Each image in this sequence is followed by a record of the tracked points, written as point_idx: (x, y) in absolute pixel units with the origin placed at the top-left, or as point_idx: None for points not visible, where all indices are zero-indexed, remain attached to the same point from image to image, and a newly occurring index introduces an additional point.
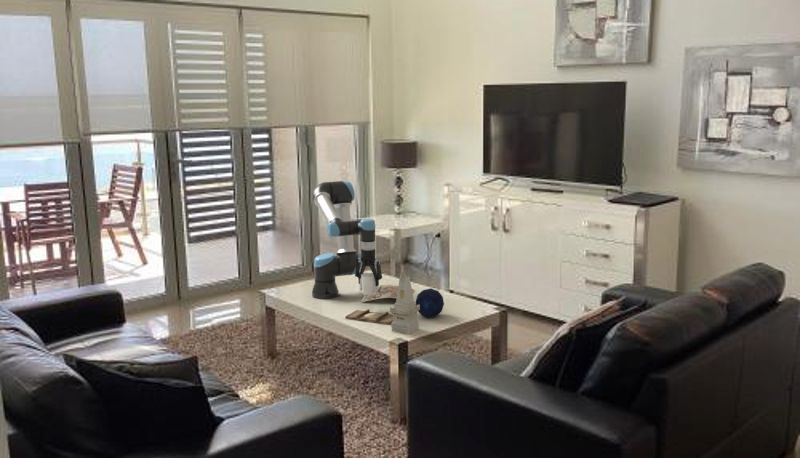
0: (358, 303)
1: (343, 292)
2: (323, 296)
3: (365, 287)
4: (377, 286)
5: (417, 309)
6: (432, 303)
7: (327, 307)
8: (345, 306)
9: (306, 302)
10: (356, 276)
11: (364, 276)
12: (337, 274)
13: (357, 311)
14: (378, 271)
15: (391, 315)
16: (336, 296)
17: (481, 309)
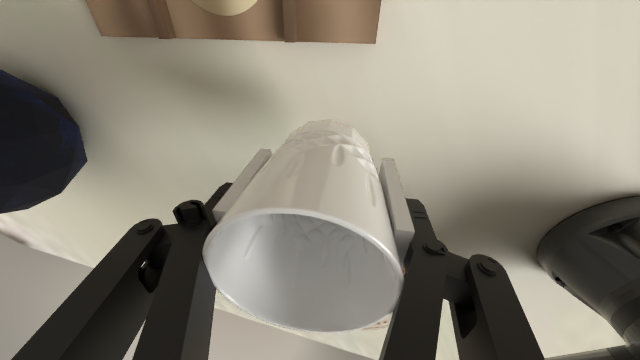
0: (417, 183)
1: (517, 279)
2: (636, 205)
3: (319, 140)
4: (390, 314)
5: None
6: None
7: (600, 65)
8: (474, 123)
9: None
10: (474, 257)
11: (375, 281)
12: (632, 356)
13: (360, 10)
14: (55, 324)
15: (137, 19)
16: (547, 235)
17: (32, 227)
